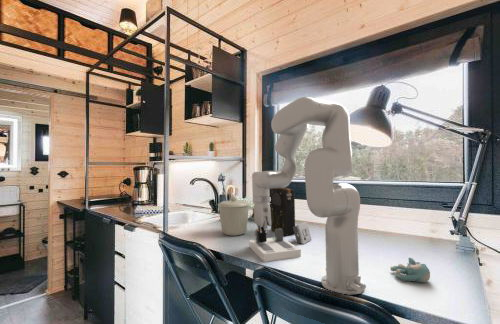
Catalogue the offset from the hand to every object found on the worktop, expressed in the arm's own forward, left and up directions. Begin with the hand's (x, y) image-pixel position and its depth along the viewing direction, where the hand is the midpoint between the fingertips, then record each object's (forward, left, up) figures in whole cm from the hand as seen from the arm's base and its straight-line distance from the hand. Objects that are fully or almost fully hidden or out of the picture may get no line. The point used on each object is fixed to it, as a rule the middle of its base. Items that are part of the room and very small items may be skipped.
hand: (262, 241), depth 114 cm
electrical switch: (+8, -23, -5) cm, 25 cm away
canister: (+35, +5, -5) cm, 35 cm away
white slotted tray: (-1, -4, -4) cm, 6 cm away
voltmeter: (+27, -21, -5) cm, 35 cm away
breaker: (+3, -9, -1) cm, 9 cm away
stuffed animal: (-41, -37, -5) cm, 55 cm away
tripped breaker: (+4, 0, -1) cm, 4 cm away
